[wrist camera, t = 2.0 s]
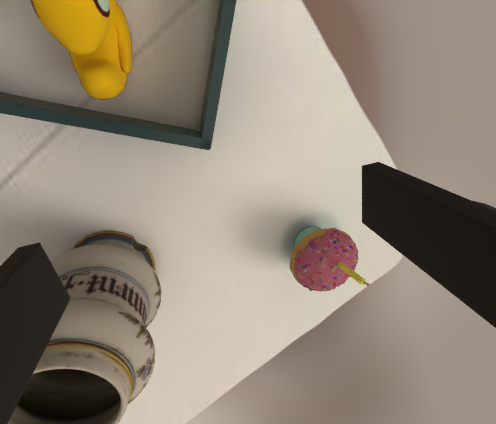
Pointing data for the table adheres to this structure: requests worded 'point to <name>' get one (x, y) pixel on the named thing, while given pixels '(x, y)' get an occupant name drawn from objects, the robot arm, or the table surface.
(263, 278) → the table surface
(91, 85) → the duckling
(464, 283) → the robot arm
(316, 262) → the cupcake
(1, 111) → the rectangular frame
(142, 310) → the apothecary jar
